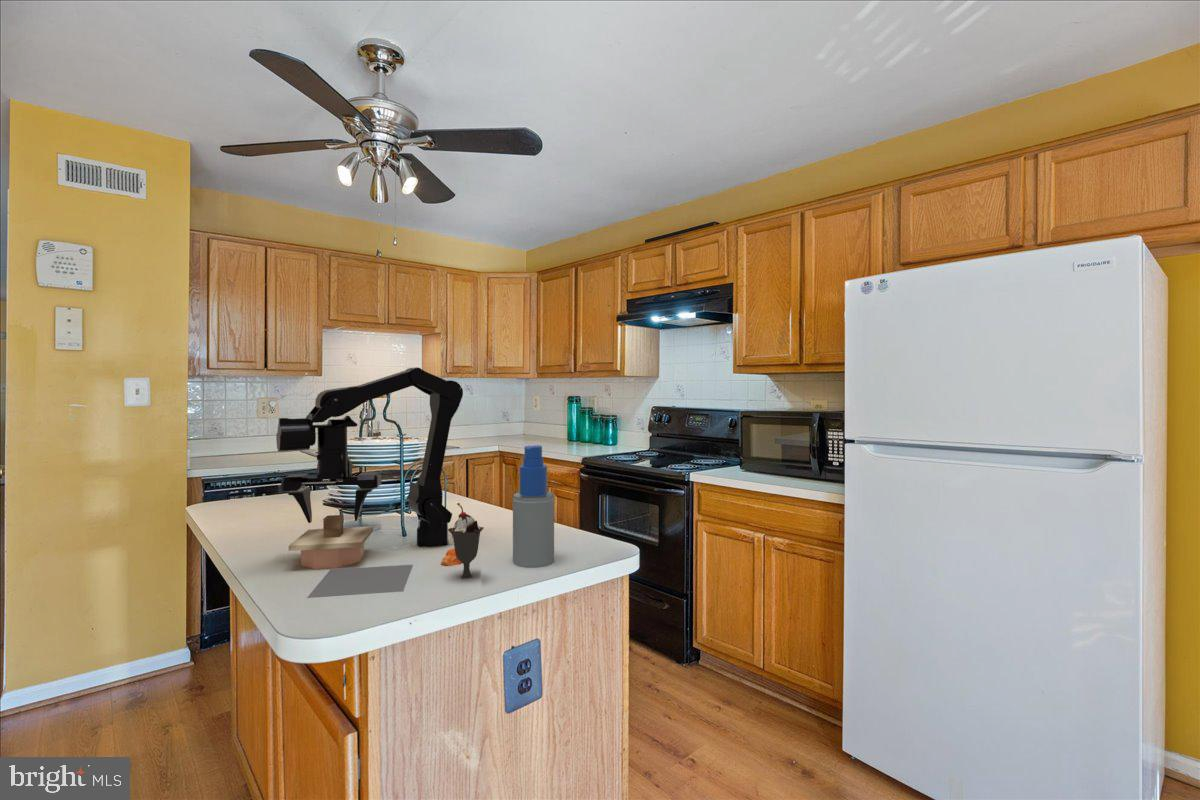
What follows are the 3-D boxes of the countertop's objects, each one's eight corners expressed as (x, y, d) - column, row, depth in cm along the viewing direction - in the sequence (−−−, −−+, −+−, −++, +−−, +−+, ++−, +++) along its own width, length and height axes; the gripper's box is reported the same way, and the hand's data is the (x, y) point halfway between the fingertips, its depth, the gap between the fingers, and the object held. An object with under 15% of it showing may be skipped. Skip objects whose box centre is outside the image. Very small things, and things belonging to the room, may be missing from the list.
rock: (416, 576, 116) (415, 556, 116) (436, 558, 129) (436, 540, 128) (474, 577, 116) (474, 556, 116) (489, 559, 128) (489, 540, 128)
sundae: (451, 575, 115) (451, 500, 115) (485, 574, 115) (485, 500, 115) (445, 586, 108) (445, 507, 108) (481, 585, 109) (481, 506, 109)
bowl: (367, 554, 130) (367, 532, 130) (356, 570, 118) (356, 545, 118) (311, 557, 127) (311, 534, 127) (295, 573, 116) (295, 549, 116)
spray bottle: (535, 552, 131) (535, 443, 130) (562, 560, 125) (562, 445, 124) (504, 561, 124) (504, 446, 124) (531, 570, 118) (530, 448, 118)
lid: (373, 530, 131) (373, 509, 131) (361, 547, 117) (360, 522, 117) (308, 534, 128) (308, 511, 128) (288, 550, 115) (288, 525, 114)
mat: (413, 568, 119) (413, 564, 119) (403, 595, 104) (403, 591, 104) (330, 573, 116) (330, 569, 116) (307, 602, 100) (307, 597, 100)
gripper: (385, 444, 132) (385, 511, 132) (296, 445, 128) (297, 515, 129) (376, 449, 121) (377, 522, 121) (279, 451, 117) (280, 527, 118)
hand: (333, 521), depth 123 cm, fingers open, 9 cm apart
